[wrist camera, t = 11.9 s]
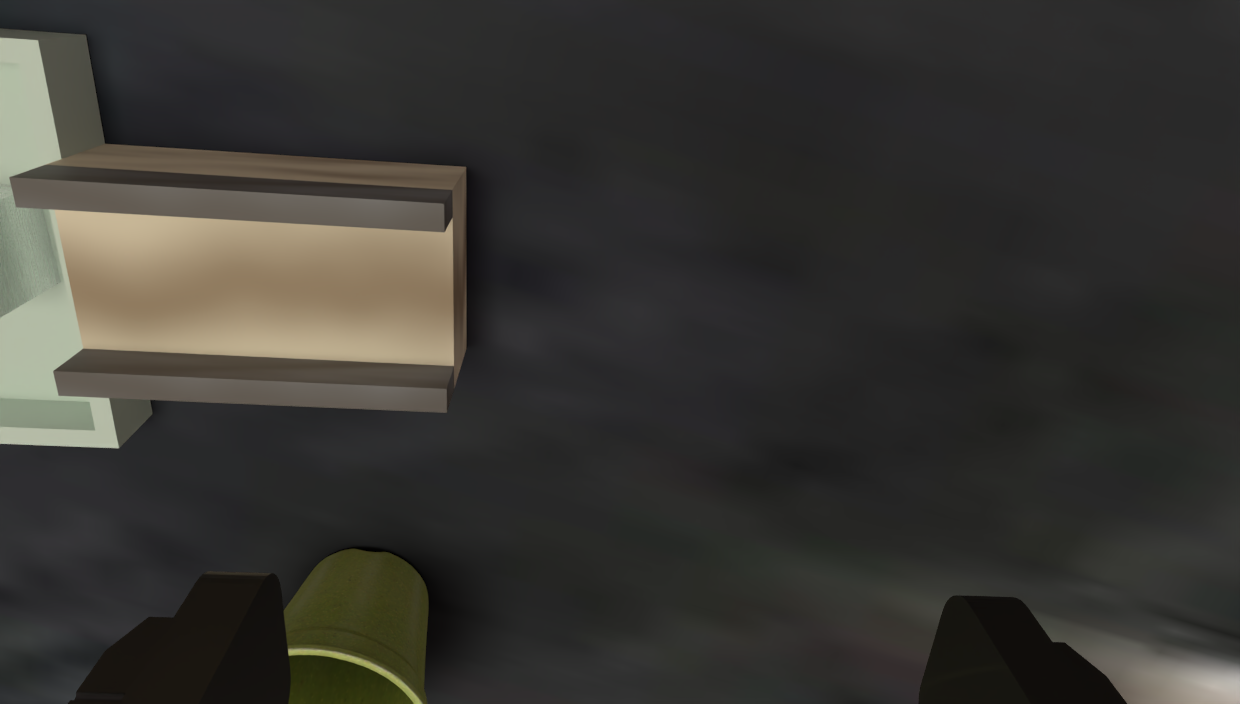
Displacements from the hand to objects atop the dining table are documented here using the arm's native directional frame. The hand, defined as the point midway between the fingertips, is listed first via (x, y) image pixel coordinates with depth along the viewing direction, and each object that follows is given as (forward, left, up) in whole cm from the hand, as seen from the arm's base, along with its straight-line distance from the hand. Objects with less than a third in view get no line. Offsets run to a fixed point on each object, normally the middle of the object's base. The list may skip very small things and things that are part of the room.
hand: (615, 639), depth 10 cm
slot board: (+4, -12, -26) cm, 29 cm away
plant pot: (+22, -10, -26) cm, 36 cm away
